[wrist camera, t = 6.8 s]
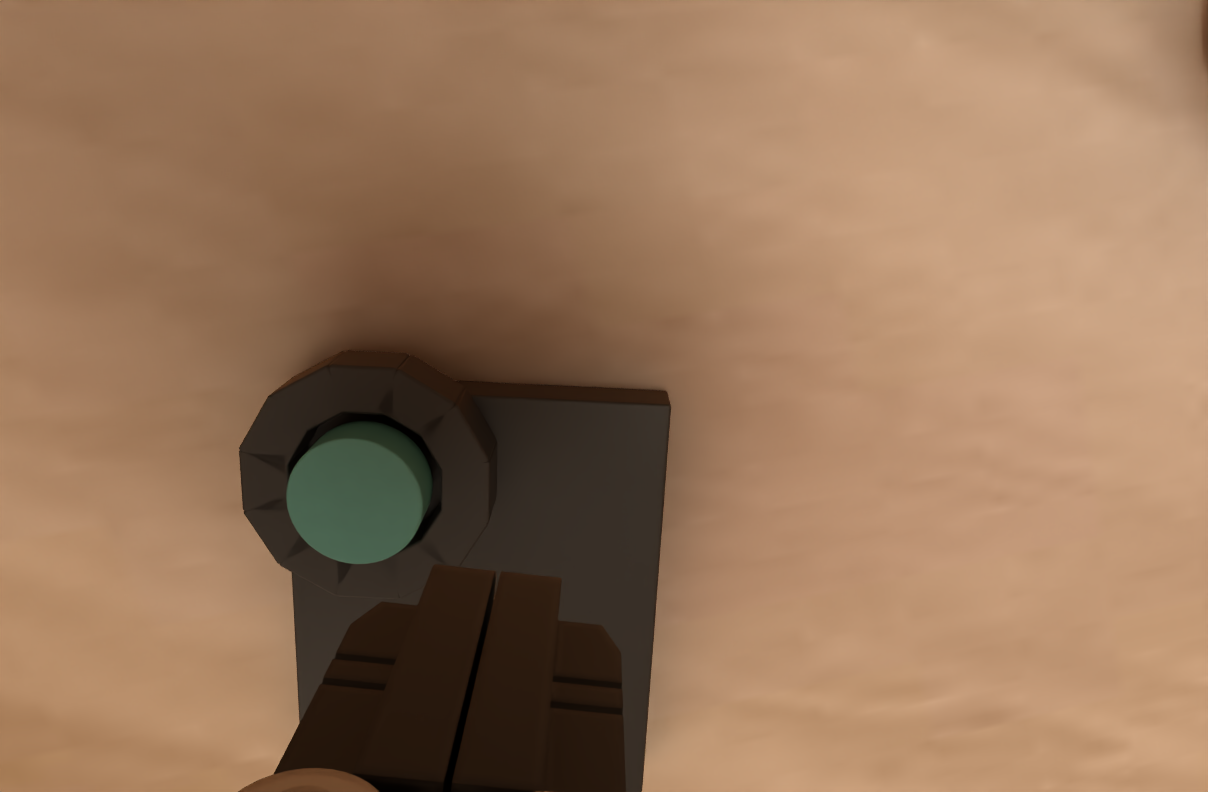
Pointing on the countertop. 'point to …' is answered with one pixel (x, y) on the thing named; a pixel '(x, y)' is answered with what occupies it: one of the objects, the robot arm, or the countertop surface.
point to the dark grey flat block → (480, 502)
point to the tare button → (360, 492)
